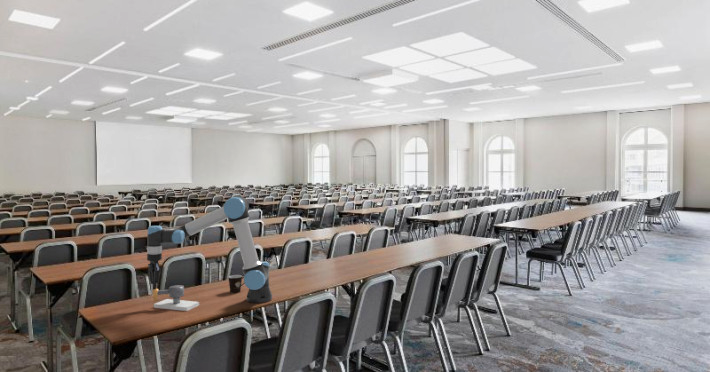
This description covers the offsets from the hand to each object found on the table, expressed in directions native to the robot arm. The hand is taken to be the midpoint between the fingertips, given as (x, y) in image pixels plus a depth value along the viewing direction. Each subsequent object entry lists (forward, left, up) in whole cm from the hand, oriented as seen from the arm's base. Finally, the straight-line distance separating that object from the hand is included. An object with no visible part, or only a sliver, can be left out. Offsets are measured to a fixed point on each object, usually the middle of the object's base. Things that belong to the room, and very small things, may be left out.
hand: (153, 294), depth 249 cm
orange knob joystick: (-7, -3, -3) cm, 8 cm away
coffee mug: (-28, -44, -8) cm, 52 cm away
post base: (-11, -6, -8) cm, 14 cm away
